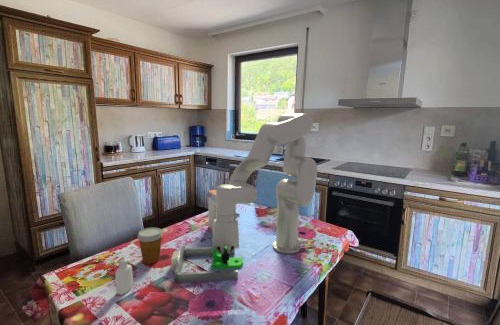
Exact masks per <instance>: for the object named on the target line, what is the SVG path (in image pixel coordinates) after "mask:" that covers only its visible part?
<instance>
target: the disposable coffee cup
mask: <svg viewBox="0 0 500 325" xmlns="http://www.w3.org/2000/svg"><path fill="white" fill-rule="evenodd" d="M163 234H164V232H162V229H161V228H159V227H147V228H144V229H143V228H142V229H141V230H139V232H138V234H137V239H138V242H139V247H140V253H141V257H142V263H144V264H150V265H151V264H154V263H157V262H158V261H159V260H160V256H161V248H162V247H161V245H162V237H163Z"/></svg>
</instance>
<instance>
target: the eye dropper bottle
mask: <svg viewBox="0 0 500 325" xmlns="http://www.w3.org/2000/svg"><path fill="white" fill-rule="evenodd" d="M118 264H119V265H118V268H117V270H116V271H115V276H114V277H115V292H116V294H117V295H120V296H123V295H125V294H127V293H128V292H129V291H130V290H132V288H133V286H134V278H133V267H132V265H131V264H128V259H127V258H125V255H122V256H121V259H119V262H118Z"/></svg>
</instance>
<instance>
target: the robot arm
mask: <svg viewBox="0 0 500 325" xmlns="http://www.w3.org/2000/svg"><path fill="white" fill-rule="evenodd" d="M277 118H278V119H277V122H265V123H264V124H262V125H261V126H260V128H259V130H258V133H257V135H256V136H255V138H254V141H253V143H252V146H251V149H250V150H249V152H248V155H247V156H246V157H245V158H244V159H243V160H242V161H241V162H240V163H239V164H238V165H237V166H236V167H235V169H234V170H233V173H232V174H231V176H230V179H229V181H228V183H225V184H224V183H223V184H219V185H218V186H217V187H216V189H215V190H216V219H214V223H213V232H212V236H211V238H212V239H211V240H212V244H211V247H212V248H213V249H218V250H219V251H220V252H221V254H222V260H223V264H225V261H226V264H227V263H228V260H229V258H230V255H231V254H230V252H231V251H232V250H233V249H234V248H235V249H238V248H240V242H239V240H240V236H239V235H240V232H239V229H240V228H239V222H238V221H239V220H238V218H240V213H237V211H236V210H237V205H238V204H239V205H248V204H252V203H254V202H255V201H256V200H257V198H258V190H257V188H256V187H255V186H253V185H251V184H249V183H247V180H248V179H249V177H250V175H251V174H252V173H253V172H255V171H256V170H258V169H260V168H261V169H262V168H263V167H265V166H267V165H268V164H269V161H270V160H271V156H272V155H273V153H274V150H275V148H276V146H285V151H284V158H283V163H282V171H283V173H284V174H285V175H286V176H289V177H292V178H295V179H296V180H295V179H290V178H283V179H281V180H279V181H278V182H277V184H276V187H275V195H276V196H275V197H276V204H277V207H276V208H277V210H276V211H277V212H276V234H275V235H276V238H275V241H273V242H272V248H273V249H274V250H275V251H276V252H278V253H281V254H286V255H291V254H292V255H293V254H297V253H298V252H300V251H301V247H302V246H301V245H308V244H309V241H308V239H304V238H302V237H299V236H298V234H299V232H298V231H299V215H300V214H299V213H300V210H299V207H307V206H309V205H310V203H311V202H312V200H313V197H314V195H315V193H314V192H315V188H316V184H317V178H318V165H317V162H316V161H315V160H314V159H313V158H311V157H308V156H305V155H306V148H307V144H306V143H307V142H306V139H305V136H306V135H308V134H309V133H310V132H311V131H312V128H313V126H314V120H313V118H312V117H311V116H310V115H309V114H308V113H305V112H304V113H302V112H301V113H299V112H298V113H296V112H295V113H293V112H291V113H290V112H289V113H284V114H281V115H279V117H277ZM224 247H227V250H226V253H225V250H224Z"/></svg>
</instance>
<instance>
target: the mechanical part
mask: <svg viewBox="0 0 500 325" xmlns="http://www.w3.org/2000/svg"><path fill="white" fill-rule="evenodd" d="M226 247H227V246H226ZM226 247H224V250H225V253H226V250H227V248H226ZM217 251H218V249H213V255H212V264H211V270H238V269H241V268H242V267H243V266H244V257H229V260H228V263H227V264H226V261H225V264H223V260H222V254H218V253H217Z"/></svg>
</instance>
